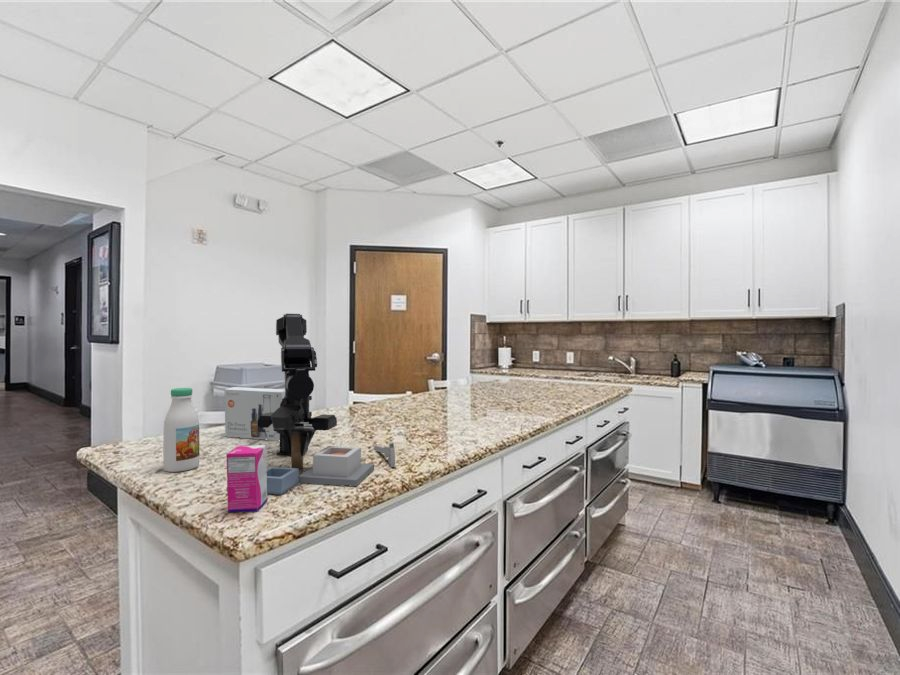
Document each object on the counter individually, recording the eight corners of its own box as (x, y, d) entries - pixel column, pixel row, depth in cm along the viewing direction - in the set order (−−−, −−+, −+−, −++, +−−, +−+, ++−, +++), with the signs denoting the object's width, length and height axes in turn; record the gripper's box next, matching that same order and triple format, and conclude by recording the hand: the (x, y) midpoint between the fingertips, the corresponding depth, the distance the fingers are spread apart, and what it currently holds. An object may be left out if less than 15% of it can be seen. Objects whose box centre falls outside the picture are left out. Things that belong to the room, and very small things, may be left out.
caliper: (395, 469, 111) (395, 444, 111) (391, 469, 110) (391, 444, 110) (376, 448, 130) (376, 427, 129) (373, 449, 129) (373, 428, 129)
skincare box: (223, 437, 141) (223, 388, 141) (235, 433, 146) (235, 386, 146) (281, 441, 136) (281, 391, 136) (291, 437, 141) (291, 388, 141)
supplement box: (238, 501, 89) (238, 444, 88) (268, 500, 89) (268, 444, 89) (225, 513, 83) (225, 452, 83) (258, 512, 83) (258, 452, 83)
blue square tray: (251, 493, 93) (251, 476, 93) (270, 481, 100) (270, 466, 100) (281, 495, 92) (281, 478, 92) (298, 483, 99) (298, 468, 99)
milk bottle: (161, 474, 104) (161, 391, 104) (165, 465, 111) (165, 387, 111) (198, 470, 108) (198, 389, 108) (200, 461, 115) (200, 386, 114)
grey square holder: (297, 482, 99) (297, 456, 99) (321, 466, 111) (321, 443, 111) (356, 486, 97) (356, 460, 97) (374, 469, 109) (374, 446, 109)
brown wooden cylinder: (289, 470, 108) (289, 430, 108) (294, 467, 110) (294, 428, 110) (299, 471, 107) (299, 431, 107) (305, 468, 110) (305, 428, 110)
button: (326, 464, 102) (326, 456, 102) (333, 459, 106) (333, 452, 106) (342, 465, 102) (342, 457, 102) (348, 460, 106) (348, 453, 106)
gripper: (242, 396, 102) (242, 462, 102) (317, 399, 99) (317, 467, 99) (269, 390, 113) (269, 450, 113) (337, 392, 110) (337, 453, 110)
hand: (297, 455), depth 109 cm, fingers closed on brown wooden cylinder, 3 cm apart
